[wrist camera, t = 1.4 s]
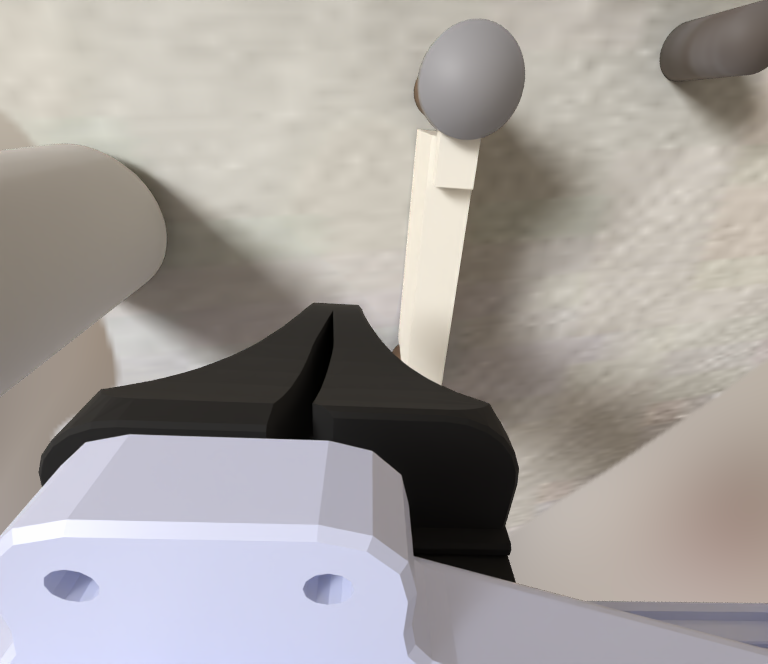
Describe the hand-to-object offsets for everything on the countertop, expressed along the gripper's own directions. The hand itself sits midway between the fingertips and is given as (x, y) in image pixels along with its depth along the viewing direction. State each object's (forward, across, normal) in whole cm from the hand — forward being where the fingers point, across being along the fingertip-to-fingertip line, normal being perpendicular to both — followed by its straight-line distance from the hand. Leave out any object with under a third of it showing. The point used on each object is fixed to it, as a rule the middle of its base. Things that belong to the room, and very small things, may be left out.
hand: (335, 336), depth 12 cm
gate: (+9, -3, -2) cm, 10 cm away
